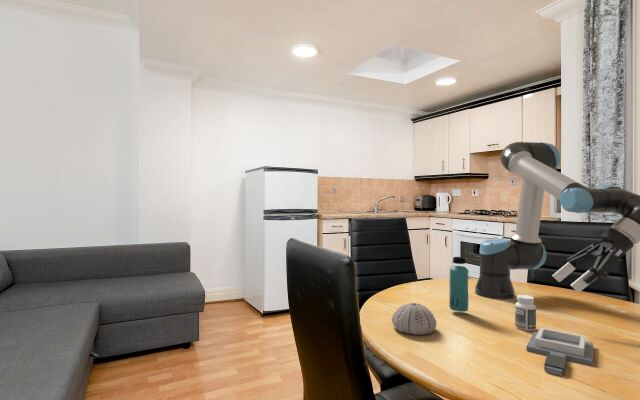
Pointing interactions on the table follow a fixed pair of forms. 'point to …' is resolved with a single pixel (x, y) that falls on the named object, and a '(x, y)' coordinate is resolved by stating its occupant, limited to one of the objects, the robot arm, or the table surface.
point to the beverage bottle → (459, 286)
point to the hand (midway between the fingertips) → (564, 283)
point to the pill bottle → (525, 313)
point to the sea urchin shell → (414, 319)
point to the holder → (560, 349)
